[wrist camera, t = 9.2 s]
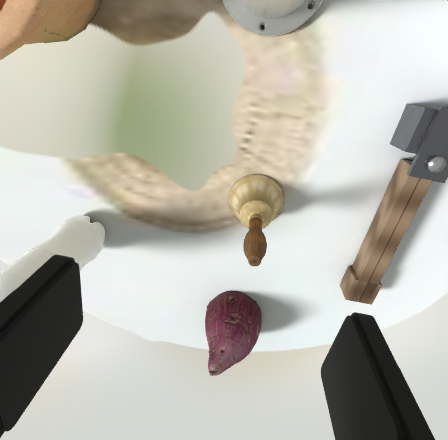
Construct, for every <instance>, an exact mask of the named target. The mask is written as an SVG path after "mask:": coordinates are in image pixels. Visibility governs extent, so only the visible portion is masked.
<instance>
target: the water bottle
mask: <svg viewBox="0 0 448 440" xmlns="http://www.w3.org/2000/svg"><path fill="white" fill-rule="evenodd" d="M104 239H105V229H104V227H103V226H102V224H101V223H99V222H94V223H90V217H88V216H76V217H72V218H70V219H68V220H66V221H65V222H63V223H62V224H61V225H59V226H58V227H57V228H56V230H55V232H54V233H53V234H52V236H51V237H50V238H48V239H47V240H46V241H45V242H44V243H42V244H40V245H39V246H37V247H35V248H33V249H31V250H28V251H26V252H25V253H24V254H23V255H22V256H21V257H20V258H19V259H18V260H17V261H15V262H14V263H13V264H11V265H10V266H9V267H8V268H6V269H5V270H4V271H3V272H1V273H0V302H1V301H2V300H3V299H5V298H6V297H7V296H8V295H9V294H10V293H11V292H13V291H14V290H16V289H17V288H18V287H19V286H20V285H21V284H22V283H23V282H24V281H26V280H27V279H28V278H29V277H30V276H31V275H32V274H33V273H34V272H35V271H37V270H38V269H39V268H40V267H41V266H42V265H43V264H44V263H45V262H46V261H48V260H49V259H50V258H51V257H52V256H53V255H56V254H57V255H62V256H68V257H72V258H74V259H75V262H76V263H78V264H79V270H81V269H82V267H83V266H84V265H86V264H87V263H88V262H90V261H91V260H93V259H94V258H95V257H96V256H97V255H98V254H99V253H100V251H101V250H102V248H103V247H104Z"/></svg>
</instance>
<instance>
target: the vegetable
mask: <svg viewBox="0 0 448 440" xmlns="http://www.w3.org/2000/svg"><path fill="white" fill-rule="evenodd" d="M261 323H262V321H261V312H260V308H259V306H258V305H257V304H256V301H254V300H252V299H251V298H250V297H248V296H247V295H245V294H243V293H241V292H237V291H226V292H224V293H221V294H220V295H218V296H217V297H215V298H214V299H213V300H212V301H211V302H210V303H209V305H208V306H207V311H206V318H205V328H206V336H207V340H208V345H209V362H208V369H209V373H210V375H211V376H213V375H219V374H221V373H222V372H224V371H225V370H227V369H228V368H230V367H231V366H233V365H234V364H236V363H238V362H240V361H241V360H243V359H244V358H245V357H246V356H247V355H248V354H249V353H250V352H251V350H252V348H253V347H254V345H255V344H256V342H257V339H258V336H259V332H260V329H261Z"/></svg>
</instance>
